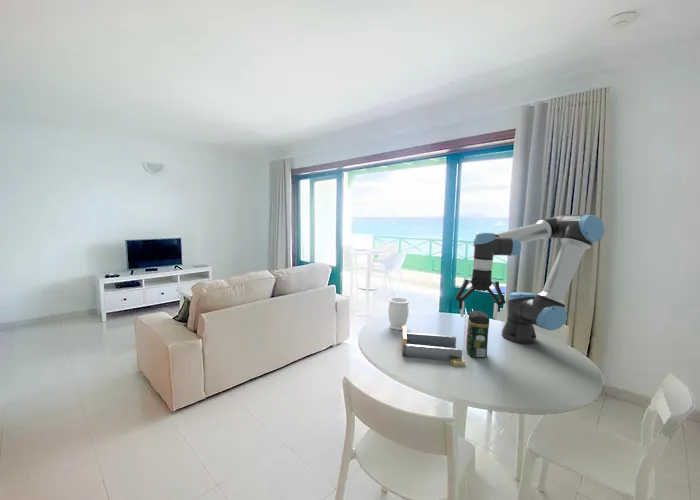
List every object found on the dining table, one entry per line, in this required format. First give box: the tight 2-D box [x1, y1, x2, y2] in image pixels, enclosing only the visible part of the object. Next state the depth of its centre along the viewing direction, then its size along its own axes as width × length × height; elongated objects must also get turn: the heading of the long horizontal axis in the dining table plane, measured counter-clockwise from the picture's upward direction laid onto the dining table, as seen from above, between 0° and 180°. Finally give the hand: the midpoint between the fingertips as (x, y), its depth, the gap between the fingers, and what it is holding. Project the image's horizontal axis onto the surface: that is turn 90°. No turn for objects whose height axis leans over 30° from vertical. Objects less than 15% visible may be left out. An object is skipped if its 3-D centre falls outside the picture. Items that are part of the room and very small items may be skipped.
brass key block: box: [449, 358, 466, 367], centre depth 124 cm, size 5×2×2 cm, turn 107°
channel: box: [401, 325, 463, 362], centre depth 135 cm, size 24×15×8 cm, turn 81°
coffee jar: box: [466, 310, 490, 359], centre depth 133 cm, size 10×8×19 cm
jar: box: [387, 297, 410, 331], centre depth 163 cm, size 11×10×15 cm
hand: (478, 317), depth 133 cm, fingers open, 13 cm apart
